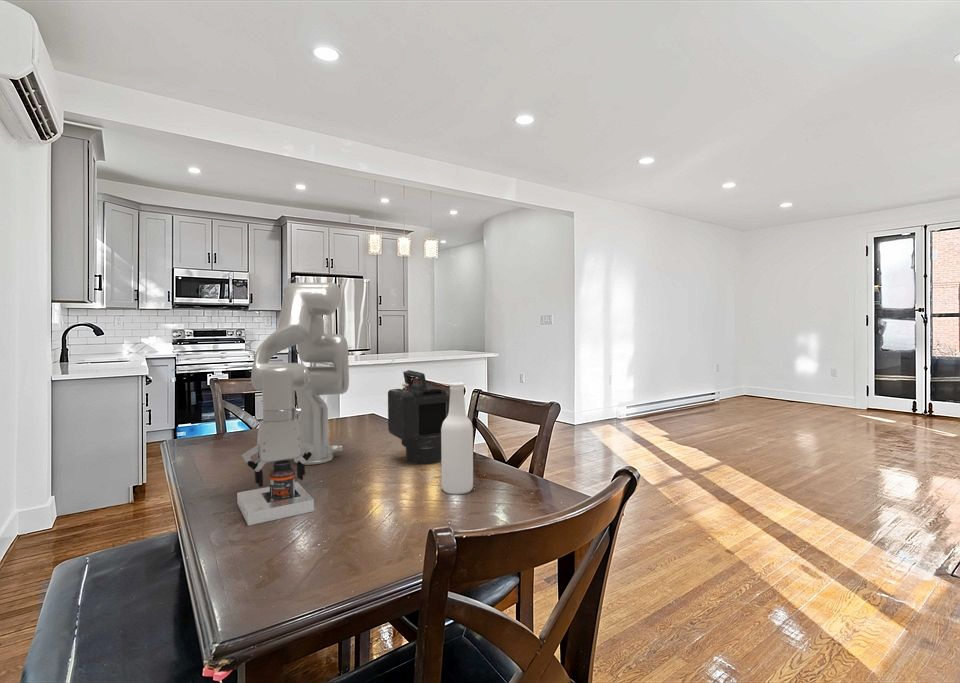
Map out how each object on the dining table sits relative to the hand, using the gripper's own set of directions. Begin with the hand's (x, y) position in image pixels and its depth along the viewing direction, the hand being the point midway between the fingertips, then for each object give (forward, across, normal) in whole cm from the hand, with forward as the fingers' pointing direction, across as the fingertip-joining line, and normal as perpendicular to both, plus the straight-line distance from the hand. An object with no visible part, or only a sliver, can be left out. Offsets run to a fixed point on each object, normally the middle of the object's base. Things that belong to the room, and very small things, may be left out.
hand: (280, 481), depth 125 cm
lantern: (+6, -48, -17) cm, 52 cm away
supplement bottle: (+6, 0, 0) cm, 7 cm away
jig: (+6, +2, 0) cm, 6 cm away
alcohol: (+6, -44, +15) cm, 46 cm away
